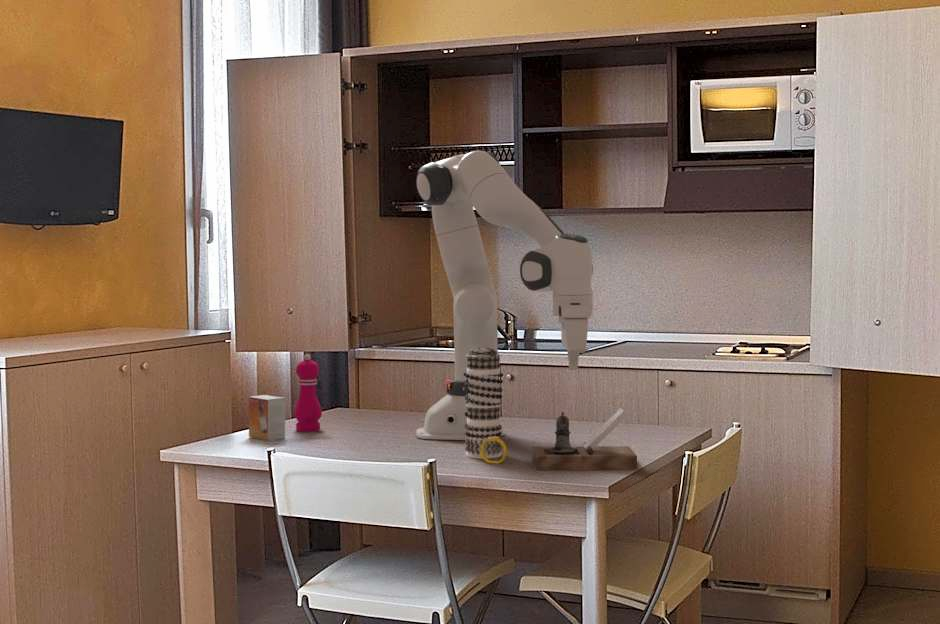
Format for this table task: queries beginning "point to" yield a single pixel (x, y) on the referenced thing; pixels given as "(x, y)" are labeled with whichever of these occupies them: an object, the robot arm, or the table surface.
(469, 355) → the decorative candle
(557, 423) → the weathered chess piece
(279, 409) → the small box
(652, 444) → the table surface
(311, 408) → the pepper mill
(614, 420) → the latch bar
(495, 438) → the yellow faceted ring
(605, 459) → the walnut holder
